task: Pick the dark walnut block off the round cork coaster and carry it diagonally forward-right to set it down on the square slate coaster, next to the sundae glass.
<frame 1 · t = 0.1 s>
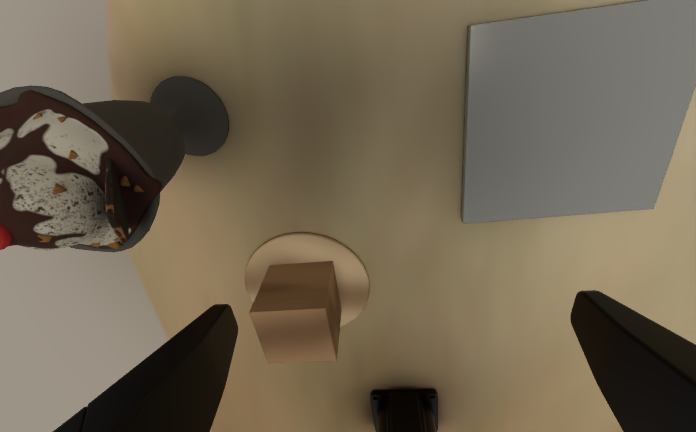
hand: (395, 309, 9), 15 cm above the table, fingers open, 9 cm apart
slate coaster: (567, 124, 20), on the table
sundae: (191, 117, 22), on the table
cork coaster: (307, 284, 28), on the table
walnut block: (306, 287, 27), resting on cork coaster
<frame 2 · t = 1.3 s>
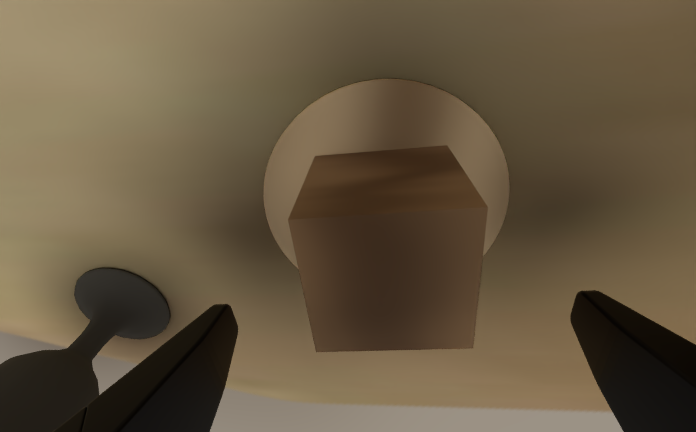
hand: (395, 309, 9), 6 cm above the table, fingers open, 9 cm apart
sundae: (127, 302, 18), on the table
cork coaster: (382, 204, 14), on the table
walnut block: (383, 208, 14), resting on cork coaster
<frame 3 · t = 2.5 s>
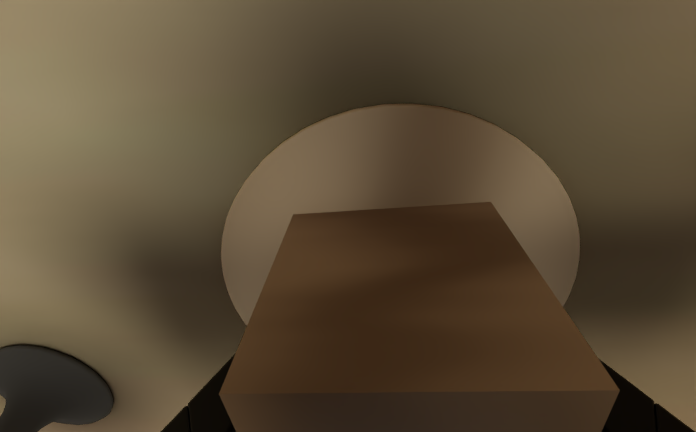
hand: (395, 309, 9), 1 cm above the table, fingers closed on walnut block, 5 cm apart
sundae: (58, 381, 14), on the table
cork coaster: (392, 275, 10), on the table
walnut block: (393, 284, 10), resting on cork coaster, touching gripper
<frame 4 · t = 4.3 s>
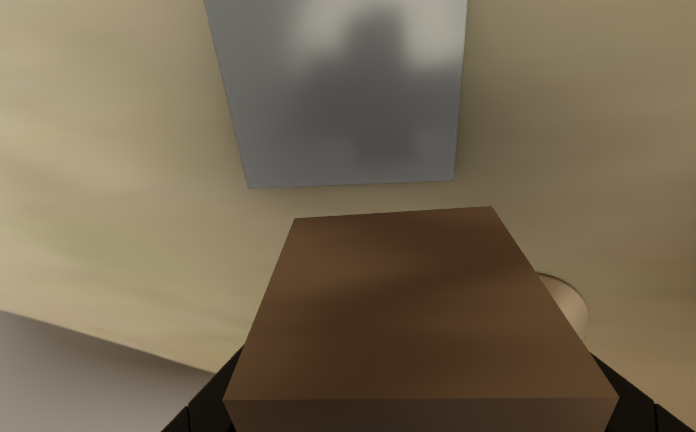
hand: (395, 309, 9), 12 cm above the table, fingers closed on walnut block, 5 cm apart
slate coaster: (339, 72, 17), on the table
cork coaster: (510, 326, 25), on the table
walnut block: (393, 287, 10), point 11 cm above the table, touching gripper
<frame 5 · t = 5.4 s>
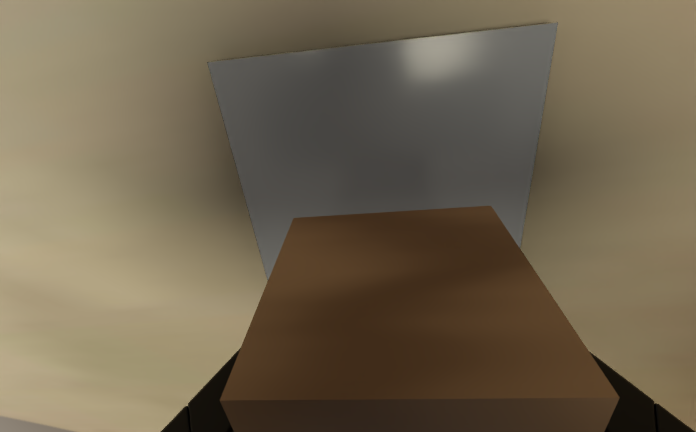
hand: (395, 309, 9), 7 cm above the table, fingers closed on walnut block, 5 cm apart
slate coaster: (382, 193, 15), on the table
walnut block: (393, 287, 10), point 6 cm above the table, touching gripper
when the fingers open (3 cm above the table, at t = 6.4 s): walnut block drops 1 cm, resting on slate coaster.
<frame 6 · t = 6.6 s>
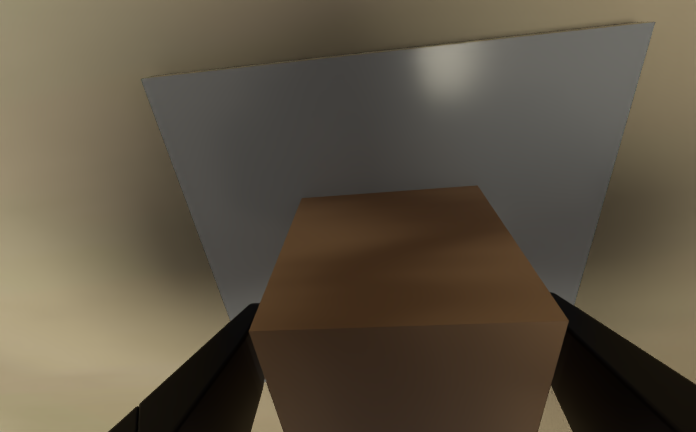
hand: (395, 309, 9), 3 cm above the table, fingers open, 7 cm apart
slate coaster: (389, 248, 11), on the table
walnut block: (391, 262, 11), point 1 cm above the table, touching slate coaster
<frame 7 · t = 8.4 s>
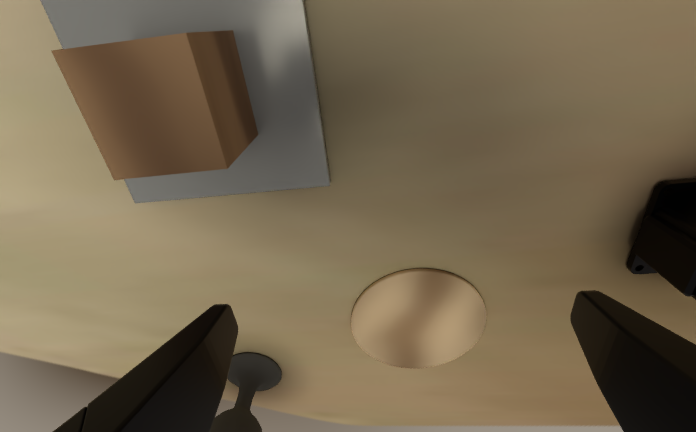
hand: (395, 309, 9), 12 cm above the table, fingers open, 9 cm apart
slate coaster: (202, 87, 18), on the table
sundae: (254, 369, 30), on the table
cork coaster: (417, 320, 26), on the table
walnut block: (199, 91, 17), point 1 cm above the table, touching slate coaster
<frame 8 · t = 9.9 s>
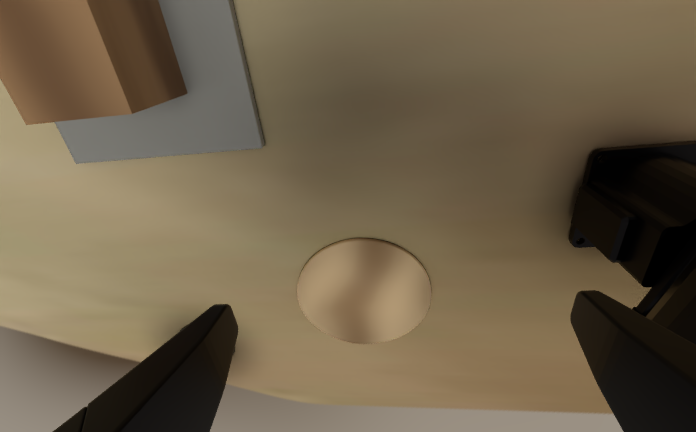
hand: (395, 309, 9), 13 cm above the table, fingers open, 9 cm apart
slate coaster: (132, 45, 18), on the table
cork coaster: (363, 293, 26), on the table
walnut block: (126, 48, 18), point 1 cm above the table, touching slate coaster
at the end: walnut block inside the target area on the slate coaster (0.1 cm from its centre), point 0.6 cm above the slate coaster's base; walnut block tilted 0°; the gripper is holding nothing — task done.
